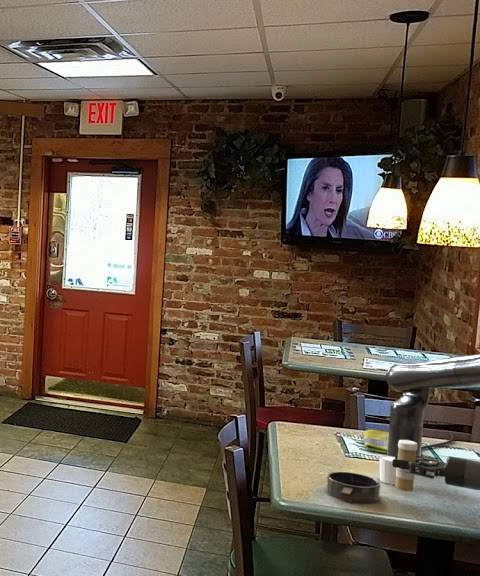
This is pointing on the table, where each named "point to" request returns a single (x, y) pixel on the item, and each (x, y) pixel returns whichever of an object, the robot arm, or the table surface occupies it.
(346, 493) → the pan handle
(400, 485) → the sprinkles bottle
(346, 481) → the pan
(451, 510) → the table surface
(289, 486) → the table surface
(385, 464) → the white cup
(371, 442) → the dish towel
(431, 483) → the table surface
